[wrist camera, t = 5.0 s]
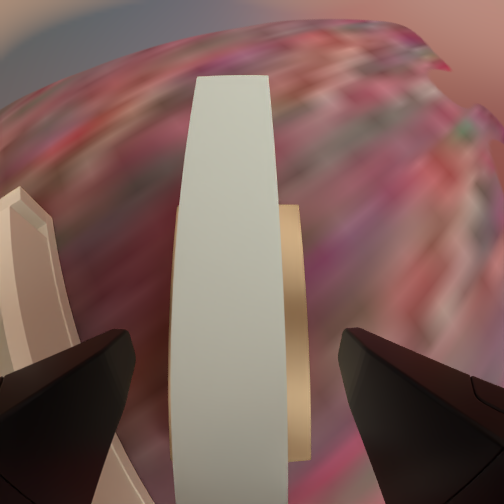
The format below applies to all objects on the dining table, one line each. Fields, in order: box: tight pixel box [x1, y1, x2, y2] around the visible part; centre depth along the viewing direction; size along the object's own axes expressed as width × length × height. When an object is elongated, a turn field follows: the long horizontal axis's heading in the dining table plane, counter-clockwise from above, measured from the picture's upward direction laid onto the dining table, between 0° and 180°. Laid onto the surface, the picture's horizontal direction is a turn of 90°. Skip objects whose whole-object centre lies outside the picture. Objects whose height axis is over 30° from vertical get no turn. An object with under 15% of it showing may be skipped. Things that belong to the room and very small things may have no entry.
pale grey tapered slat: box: [170, 75, 288, 504], centre depth 10 cm, size 10×2×10 cm, turn 1°
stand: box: [168, 205, 311, 462], centre depth 14 cm, size 12×6×2 cm, turn 1°
